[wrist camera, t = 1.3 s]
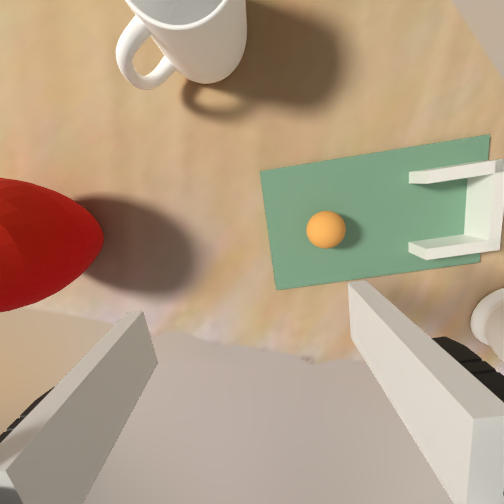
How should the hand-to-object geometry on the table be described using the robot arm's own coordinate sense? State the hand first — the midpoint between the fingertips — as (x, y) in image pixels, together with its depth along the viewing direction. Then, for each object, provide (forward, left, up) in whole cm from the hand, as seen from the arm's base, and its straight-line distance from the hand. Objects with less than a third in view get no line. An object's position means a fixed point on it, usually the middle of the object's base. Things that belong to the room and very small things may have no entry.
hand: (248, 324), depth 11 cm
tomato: (-4, -21, -20) cm, 29 cm away
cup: (-19, -3, -20) cm, 28 cm away
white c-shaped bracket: (0, +21, -19) cm, 29 cm away
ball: (0, +8, -17) cm, 19 cm away
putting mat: (0, +14, -19) cm, 24 cm away
